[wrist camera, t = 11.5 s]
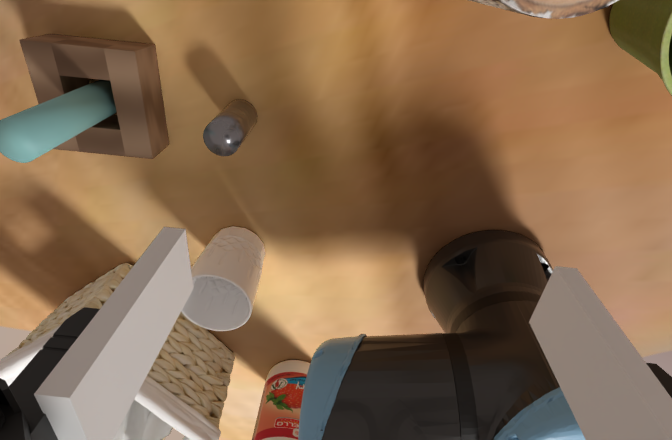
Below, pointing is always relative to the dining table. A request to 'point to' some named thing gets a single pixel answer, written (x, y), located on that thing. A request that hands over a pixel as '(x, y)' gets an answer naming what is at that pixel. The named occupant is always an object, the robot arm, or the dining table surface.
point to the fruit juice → (281, 402)
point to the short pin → (230, 128)
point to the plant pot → (645, 33)
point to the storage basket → (151, 371)
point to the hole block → (126, 81)
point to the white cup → (225, 280)
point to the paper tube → (549, 7)
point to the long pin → (55, 121)
